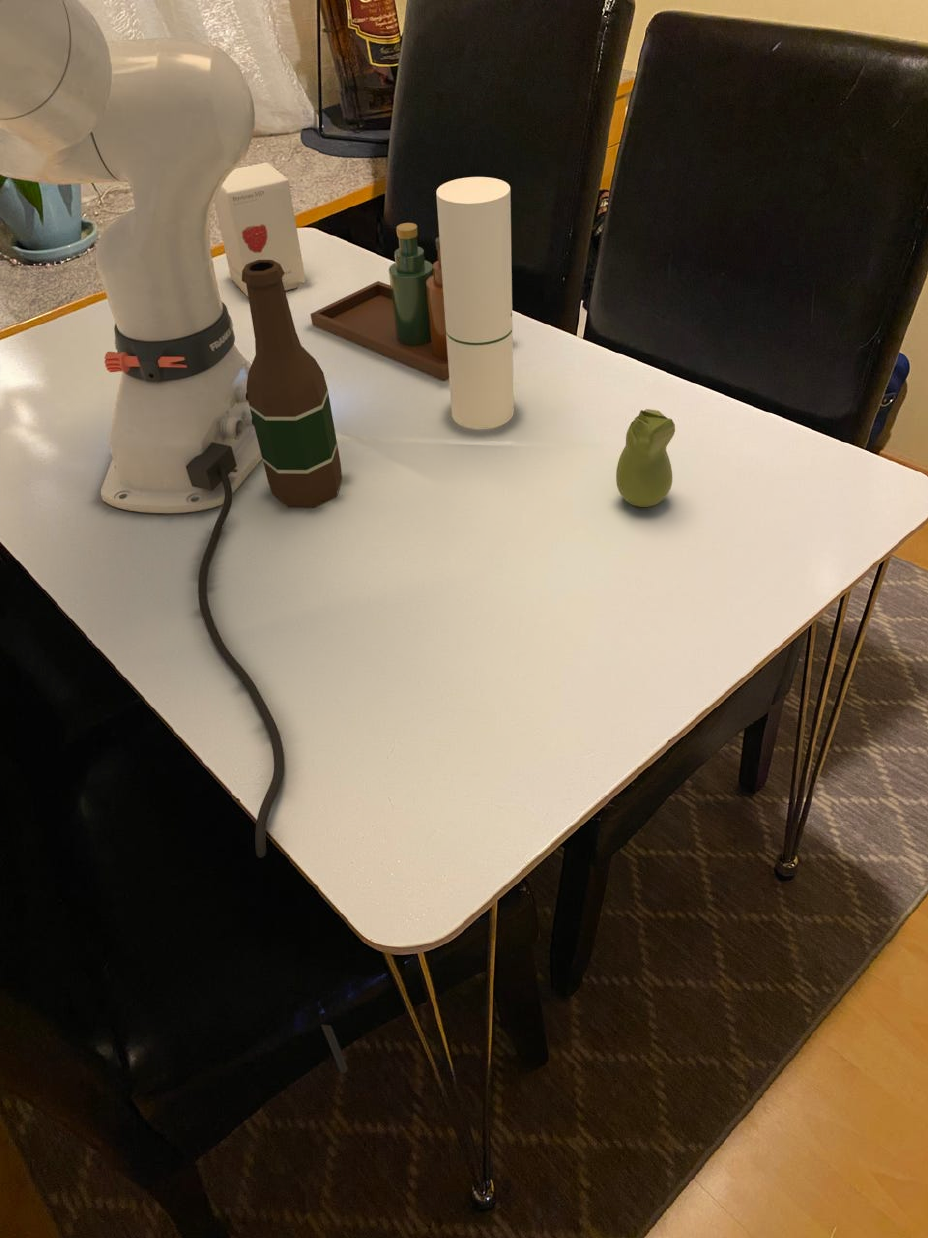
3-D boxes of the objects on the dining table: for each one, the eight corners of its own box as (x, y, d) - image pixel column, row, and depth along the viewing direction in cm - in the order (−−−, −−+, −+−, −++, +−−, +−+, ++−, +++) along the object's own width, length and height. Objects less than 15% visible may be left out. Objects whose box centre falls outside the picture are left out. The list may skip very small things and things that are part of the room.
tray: (511, 344, 116) (511, 329, 114) (444, 385, 109) (443, 369, 108) (379, 295, 128) (378, 280, 127) (312, 328, 122) (310, 313, 120)
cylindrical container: (515, 400, 106) (512, 175, 88) (511, 433, 101) (507, 202, 83) (455, 399, 107) (440, 177, 89) (448, 433, 102) (431, 204, 84)
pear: (638, 478, 94) (647, 393, 87) (680, 498, 91) (692, 412, 84) (604, 502, 91) (610, 416, 84) (646, 524, 88) (656, 437, 81)
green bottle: (434, 345, 115) (425, 235, 105) (392, 345, 116) (379, 235, 106) (440, 325, 119) (432, 217, 109) (400, 325, 120) (388, 217, 110)
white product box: (249, 301, 129) (224, 192, 118) (230, 279, 134) (205, 173, 124) (308, 285, 131) (289, 177, 121) (287, 264, 137) (267, 159, 127)
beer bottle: (266, 476, 97) (211, 256, 81) (336, 461, 99) (296, 241, 82) (277, 517, 92) (221, 290, 75) (351, 501, 93) (312, 274, 77)
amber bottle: (472, 361, 112) (466, 248, 102) (428, 360, 113) (418, 248, 103) (477, 339, 116) (472, 229, 106) (435, 339, 116) (426, 229, 107)
